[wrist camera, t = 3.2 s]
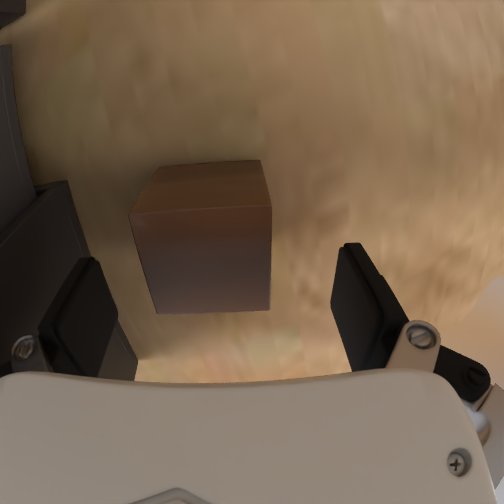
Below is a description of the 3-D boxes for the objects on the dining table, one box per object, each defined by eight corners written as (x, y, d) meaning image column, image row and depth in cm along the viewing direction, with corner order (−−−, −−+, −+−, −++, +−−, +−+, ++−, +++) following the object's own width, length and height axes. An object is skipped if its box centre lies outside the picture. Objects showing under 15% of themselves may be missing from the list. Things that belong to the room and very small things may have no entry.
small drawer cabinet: (-52, 211, 12) (-128, 298, 4) (67, 179, 12) (-57, 322, 4) (23, 348, 20) (-9, 433, 12) (138, 361, 21) (118, 476, 13)
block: (158, 166, 12) (127, 214, 9) (260, 159, 12) (272, 204, 9) (173, 250, 15) (156, 314, 11) (261, 246, 15) (270, 311, 11)
